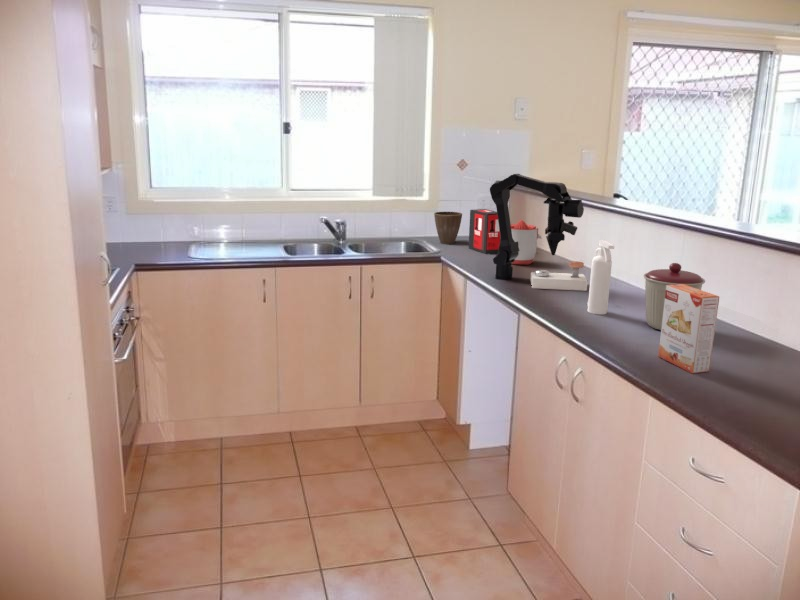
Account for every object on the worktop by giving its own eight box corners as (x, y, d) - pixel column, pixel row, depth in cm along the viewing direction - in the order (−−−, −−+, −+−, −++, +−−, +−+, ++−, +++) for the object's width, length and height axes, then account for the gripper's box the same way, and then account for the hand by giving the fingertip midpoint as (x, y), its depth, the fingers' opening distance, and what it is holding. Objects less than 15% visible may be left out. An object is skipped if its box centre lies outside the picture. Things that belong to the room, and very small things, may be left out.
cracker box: (656, 357, 191) (665, 284, 185) (674, 355, 192) (683, 283, 187) (691, 374, 178) (701, 296, 172) (710, 372, 180) (721, 295, 174)
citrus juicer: (542, 266, 310) (545, 222, 305) (504, 265, 311) (506, 222, 306) (536, 260, 326) (539, 218, 321) (500, 259, 326) (502, 217, 321)
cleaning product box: (500, 253, 342) (503, 213, 337) (485, 254, 338) (487, 213, 333) (483, 247, 356) (485, 209, 351) (468, 248, 352) (470, 209, 347)
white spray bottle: (598, 305, 244) (603, 236, 236) (613, 316, 232) (620, 243, 225) (580, 306, 242) (585, 237, 235) (594, 317, 231) (600, 244, 224)
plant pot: (447, 246, 357) (448, 215, 353) (427, 242, 368) (428, 212, 364) (466, 243, 367) (468, 213, 363) (446, 239, 378) (447, 210, 374)
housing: (532, 288, 269) (532, 278, 268) (530, 281, 280) (530, 271, 279) (586, 290, 266) (587, 280, 265) (582, 283, 278) (583, 274, 277)
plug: (534, 285, 272) (535, 272, 270) (533, 282, 277) (534, 269, 276) (549, 286, 271) (550, 273, 270) (547, 282, 276) (548, 270, 275)
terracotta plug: (569, 276, 269) (570, 263, 268) (567, 273, 275) (568, 260, 273) (583, 277, 269) (584, 264, 267) (581, 274, 274) (582, 261, 273)
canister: (685, 320, 228) (693, 258, 222) (708, 336, 210) (717, 269, 205) (631, 319, 228) (637, 257, 223) (648, 335, 211) (656, 268, 205)
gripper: (579, 219, 257) (576, 260, 260) (574, 213, 275) (571, 251, 278) (549, 218, 258) (546, 259, 262) (545, 212, 276) (543, 251, 280)
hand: (553, 255), depth 270 cm, fingers closed
